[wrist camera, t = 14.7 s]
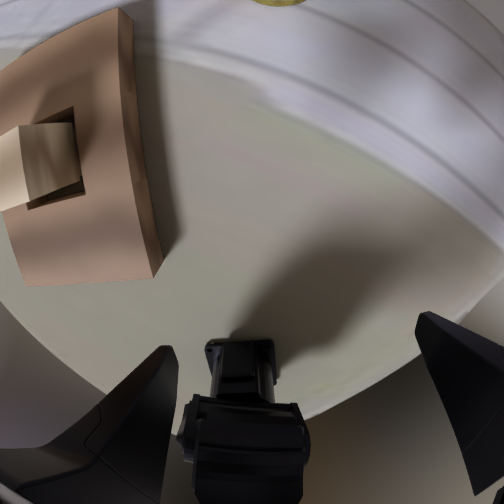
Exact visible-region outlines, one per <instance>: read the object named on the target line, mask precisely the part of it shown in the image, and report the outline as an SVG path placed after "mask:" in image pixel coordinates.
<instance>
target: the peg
mask: <svg viewBox="0 0 504 504" xmlns="http://www.w3.org/2000/svg"><path fill="white" fill-rule="evenodd" d="M81 175H82V171H81V165H80V158H79V151H78V144H77V136H76V128H73V126H72V122H71V123H45V124H31V125H19V126H17V127H15V128H13V129H12V130H10V131H8V132H7V133H5V134H3V135H2V136H0V212H1V211H4V210H7V209H9V208H12V207H15V206H18V205H20V204H23V203H26V202H29V201H32V200H34V199H36V198H38V197H41V196H43V195H45V194H48V193H50V192H53V191H55V190H58V189H60V188H63V187H65V186H68V185H70V184H73V183H76V182H78V181H81V180H80V176H81Z"/></svg>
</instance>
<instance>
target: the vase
mask: <svg viewBox="0 0 504 504" xmlns="http://www.w3.org/2000/svg"><path fill="white" fill-rule="evenodd" d="M253 1H255V2H257V3H260V4H264V5H269V6H289V5H295V4H298V3H301V2H303V1H305V0H253Z"/></svg>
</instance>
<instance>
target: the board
mask: <svg viewBox="0 0 504 504" xmlns="http://www.w3.org/2000/svg"><path fill="white" fill-rule="evenodd" d="M73 115H74V117H75V127H76V136H77V144H78V151H79V158H80V165H81V171H82V176H83V182H84V187H85V191H83V192H79V193H75V194H71V195H67V196H64V197H60V198H56V199H53V200H49V201H48V198H47V194H45V195H43V196H41V197H38V198H36V199H34V200H32V201H29V202H26V203H23V204H20V205H18V206H15V207H12V208H9V209H7V210H4V211H2V213H3V217H4V221H5V224H6V228H7V232H8V235H9V239H10V242H11V245H12V248H13V251H14V254H15V257H16V260H17V263H18V266H19V269H20V271H21V274H22V277H23V279H24V282H25V284H26V287H28V286H47V285H64V284H81V283H96V282H111V281H125V280H139V279H152V278H154V276H155V275H156V273H157V271H158V270H159V268H160V266H161V265H162V263H163V261H164V259H163V255H162V250H161V246H160V242H159V237H158V232H157V228H156V223H155V218H154V213H153V208H152V202H151V197H150V191H149V186H148V180H147V174H146V167H145V161H144V154H143V147H142V139H141V131H140V123H139V114H138V104H137V93H136V80H135V64H134V38H133V19H131V18H130V17H129V16H128V15H127V14H126V13H125V12H123V11H122V10H121V9H120V8H119V7H117V8H114V9H112V10H109V11H106V12H104V13H101V14H99V15H97V16H94V17H92V18H90V19H87V20H85V21H83V22H81V23H79V24H77V25H75V26H73V27H71V28H69V29H67V30H65V31H63V32H61V33H59V34H57V35H55V36H53V37H52V38H50V39H48V40H46V41H45V42H43V43H41V44H40V45H38V46H36V47H35V48H33V49H32V50H30V51H28V52H27V53H25V54H24V55H22V56H21V57H19V58H18V59H16V60H15V61H14V62H12V63H11V64H9V65H8V66H7V67H5V68H4V69H3V70H1V71H0V136H2V135H3V134H5V133H7V132H8V131H10V130H12V129H13V128H15V127H17V126H19V125H31V124H45V123H56V122H58V121H60V120H63V119H65V118H68V117H70V116H73Z"/></svg>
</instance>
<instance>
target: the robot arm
mask: <svg viewBox="0 0 504 504" xmlns="http://www.w3.org/2000/svg"><path fill="white" fill-rule="evenodd" d="M415 337H416V339H417V342H418V345H419V347H420V350H421V353H422V355H423V358H424V361H425V364H426V367H427V369H428V371H429V374H430V376H431V378H432V380H433V382H434V384H435V387H436V389H437V391H438V393H439V396H440V398H441V400H442V403H443V405H444V408H445V410H446V412H447V415H448V417H449V420H450V422H451V425H452V428H453V430H454V433H455V436H456V438H457V441H458V444H459V447H460V450H461V452H462V456H463V459H464V462H465V465H466V469H467V472H468V475H469V479H470V482H471V486H472V489H473V493H474V495H475V496H476V495H478V494H480V493H481V492H483V491H484V490H485V489H487V488H489V487H490V486H491V485H493V484H494V483H496V482H497V481H498V480H500V479H501V478H502V477H504V347H503V346H501V345H498V344H497V343H495V342H493V341H491V340H489V339H487V338H485V337H483V336H481V335H479V334H477V333H474V332H472V331H470V330H468V329H466V328H464V327H462V326H460V325H458V324H456V323H454V322H452V321H449V320H447V319H445V318H443V317H441V316H439V315H437V314H435V313H432V312H430V311H427V312H423V313H420V315H419V317H418V320H417V324H416V328H415ZM268 344H270V345H268ZM209 348H210V349H209ZM205 354H206V358H207V361H208V365H209V368H210V371H211V375H212V383H211V392H210V397H206V396H200V395H199V394H194V395H193V399H192V401H191V400H190V403H189V404H186V405H185V408H184V413H183V418H182V422H181V425H180V428H179V430H178V433H177V438H176V442H177V443H178V444H179V445H180V446H181V448H182V453H184V461H185V462H191V463H194V464H193V474H192V488H193V490H194V492H195V495H196V497H197V499H198V501H199V502H200V504H298V503H299V502H300V500H301V498H302V496H303V469H304V467H305V466H306V464H307V462H308V460H309V456H310V446H311V444H310V435H309V431H308V429H307V426H306V424H305V421H304V419H303V417H302V414H301V412H300V409H299V407H298V404H297V403H290V404H285V403H275V397H274V387H273V386H274V385H276V383H277V381H276V365H275V350H274V342H273V341H272V340H257V341H245V342H231V343H213V344H207V345H205ZM178 370H179V365H178V360H177V358H176V355H175V353H174V350H173V348H172V346H170V345H161V346H159V347H158V348H157V349H156V350H155V351H154V352H153V353H151V354H150V355H149V356H148V357H147V358H146V359H145V360H144V361H143V362H142V363H141V364H140V365H139V366H138V367H136V368H135V369H134V370H133V371H132V372H131V373H130V374H129V375H128V376H127V377H126V378H125V379H124V380H123V381H121V382H120V383H119V384H118V385H117V386H116V387H115V388H114V389H113V390H112V391H111V392H110V393H109V394H108V395H106V396H105V397H104V398H103V399H102V400H101V401H100V402H99V404H97V405H96V406H95V407H94V408H92V409H91V410H90V411H89V412H88V413H87V414H86V415H84V416H83V417H82V418H81V419H80V420H78V421H77V422H76V423H75V424H73V425H72V426H71V427H69V428H68V429H67V430H65V431H64V432H63V433H61V434H60V435H59V436H57V437H56V438H54V439H53V440H52V441H50V442H49V443H47V444H45V445H43V446H40V447H36V448H18V449H3V448H2V449H1V448H0V504H160V499H161V492H162V485H163V478H164V472H165V465H166V459H167V453H168V446H169V441H170V435H171V429H172V424H173V418H174V413H175V407H176V399H177V384H178ZM493 504H504V486H503V487H502V488H500V489H499V490H498V491H497V494H496V496H495V499H494V501H493Z"/></svg>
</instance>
